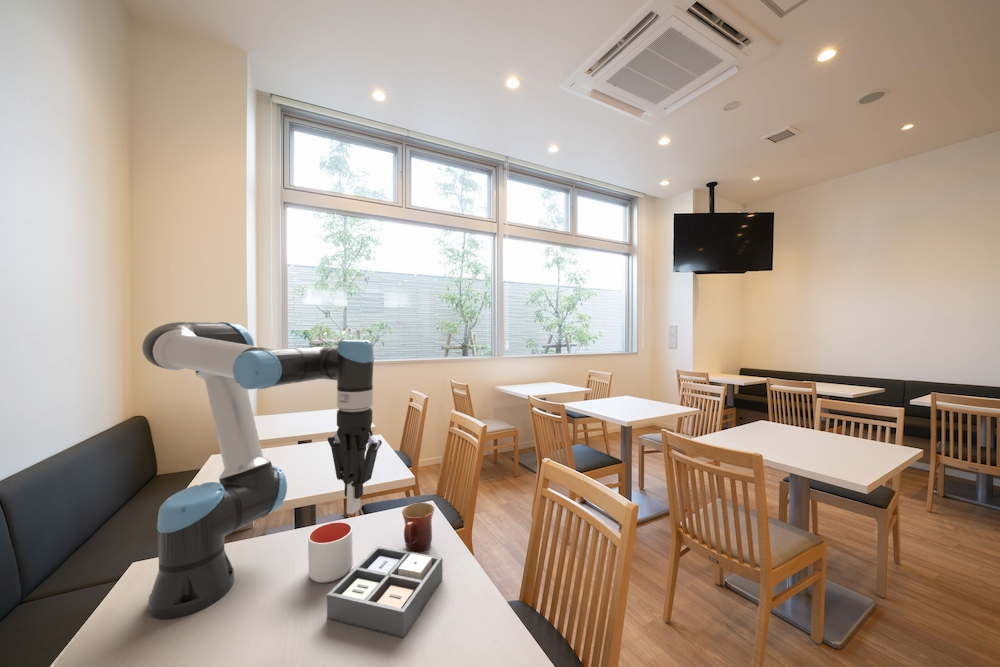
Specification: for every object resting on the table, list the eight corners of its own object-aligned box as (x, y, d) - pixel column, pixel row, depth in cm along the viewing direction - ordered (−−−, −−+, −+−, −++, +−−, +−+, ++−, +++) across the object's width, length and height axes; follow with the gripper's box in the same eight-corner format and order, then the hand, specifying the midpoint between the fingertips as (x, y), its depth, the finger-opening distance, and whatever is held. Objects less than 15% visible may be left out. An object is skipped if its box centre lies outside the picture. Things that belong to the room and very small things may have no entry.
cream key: (398, 582, 85) (398, 567, 85) (410, 567, 90) (410, 553, 90) (420, 587, 84) (420, 571, 83) (431, 571, 89) (431, 557, 89)
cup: (352, 579, 90) (352, 538, 90) (306, 590, 87) (306, 547, 86) (352, 555, 100) (352, 518, 99) (310, 564, 96) (310, 526, 96)
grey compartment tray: (327, 619, 78) (326, 594, 78) (377, 566, 95) (377, 545, 95) (403, 638, 73) (403, 612, 73) (442, 578, 90) (442, 557, 90)
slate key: (366, 584, 87) (365, 569, 87) (379, 569, 93) (379, 555, 93) (386, 588, 86) (386, 573, 86) (399, 573, 91) (399, 559, 91)
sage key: (341, 611, 79) (340, 594, 79) (357, 593, 85) (357, 577, 84) (363, 616, 78) (363, 599, 78) (379, 597, 83) (379, 582, 83)
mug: (410, 536, 109) (410, 501, 109) (439, 539, 107) (438, 504, 107) (390, 561, 97) (390, 522, 97) (422, 565, 95) (421, 525, 95)
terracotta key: (376, 619, 77) (376, 602, 77) (391, 600, 82) (391, 584, 82) (400, 625, 75) (400, 608, 75) (413, 605, 81) (413, 589, 81)
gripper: (318, 408, 82) (317, 514, 83) (369, 414, 79) (367, 524, 79) (342, 402, 90) (341, 499, 90) (389, 407, 86) (387, 508, 86)
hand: (353, 510), depth 85 cm, fingers closed
